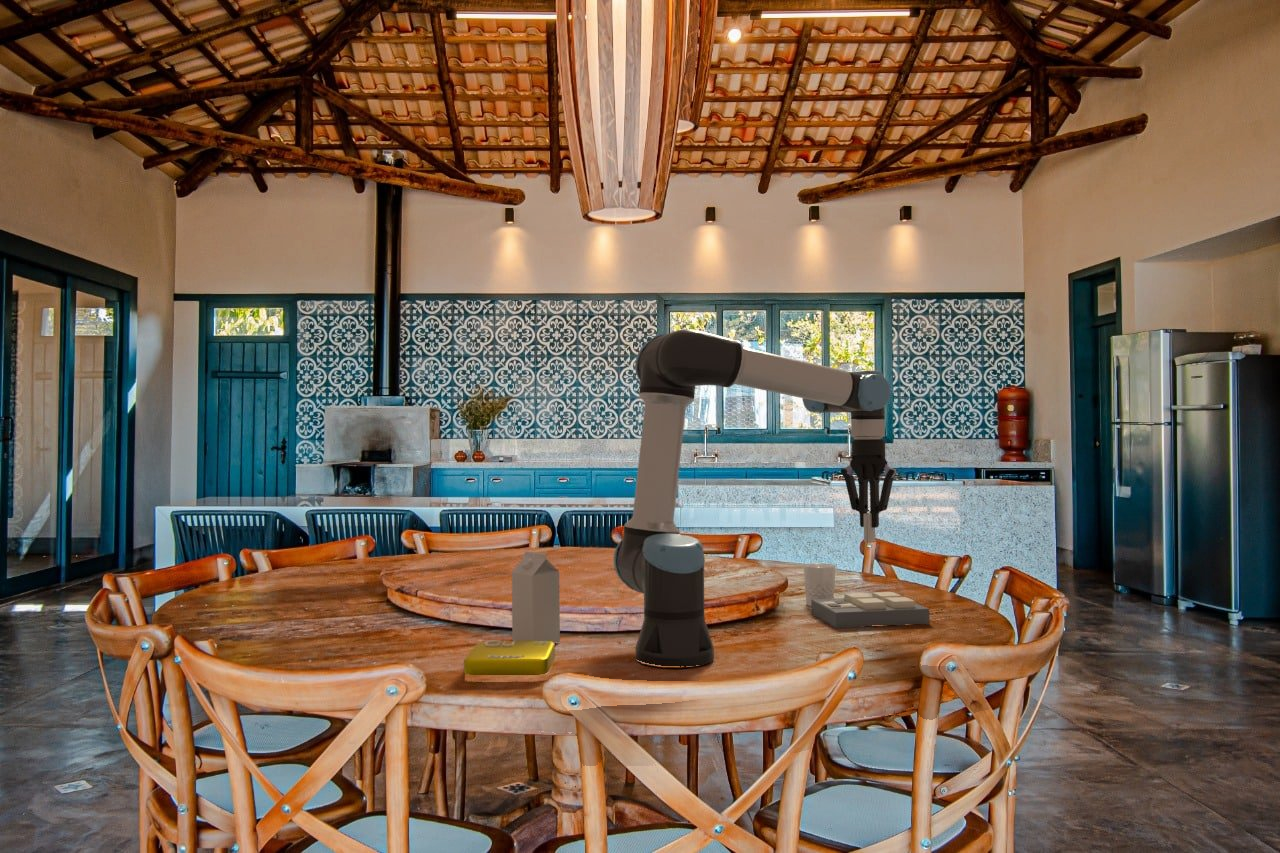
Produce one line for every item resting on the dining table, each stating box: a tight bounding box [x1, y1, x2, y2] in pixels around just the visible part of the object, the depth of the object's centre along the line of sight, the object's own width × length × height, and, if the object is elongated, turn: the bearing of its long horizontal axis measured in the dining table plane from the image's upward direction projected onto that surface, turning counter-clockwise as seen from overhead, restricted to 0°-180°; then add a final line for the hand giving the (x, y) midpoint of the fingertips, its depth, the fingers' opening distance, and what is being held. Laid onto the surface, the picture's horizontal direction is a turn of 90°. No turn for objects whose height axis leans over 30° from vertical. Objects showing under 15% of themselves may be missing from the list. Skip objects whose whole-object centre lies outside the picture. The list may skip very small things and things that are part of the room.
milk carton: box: [511, 550, 561, 643], centre depth 185 cm, size 7×7×19 cm
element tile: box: [463, 639, 556, 675], centre depth 163 cm, size 15×15×5 cm
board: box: [811, 597, 930, 629], centre depth 206 cm, size 22×16×4 cm
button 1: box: [844, 592, 873, 604], centre depth 209 cm, size 5×5×2 cm
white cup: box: [803, 562, 836, 607], centre depth 224 cm, size 8×8×10 cm
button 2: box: [856, 598, 885, 610], centre depth 202 cm, size 5×5×2 cm
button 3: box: [871, 591, 902, 602], centre depth 210 cm, size 5×5×2 cm
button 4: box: [885, 596, 916, 609], centre depth 203 cm, size 5×5×2 cm
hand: (869, 541), depth 202 cm, fingers closed
